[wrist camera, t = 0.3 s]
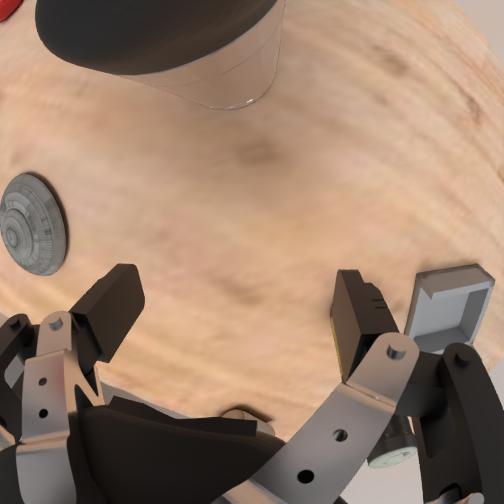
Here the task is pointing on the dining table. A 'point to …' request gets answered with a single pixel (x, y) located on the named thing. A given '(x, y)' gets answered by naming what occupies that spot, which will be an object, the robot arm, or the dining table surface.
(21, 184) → the flying saucer
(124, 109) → the dining table surface
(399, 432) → the sauce bottle
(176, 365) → the dining table surface
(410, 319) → the knobbed green block
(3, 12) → the red round fruit
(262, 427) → the white cylinder
